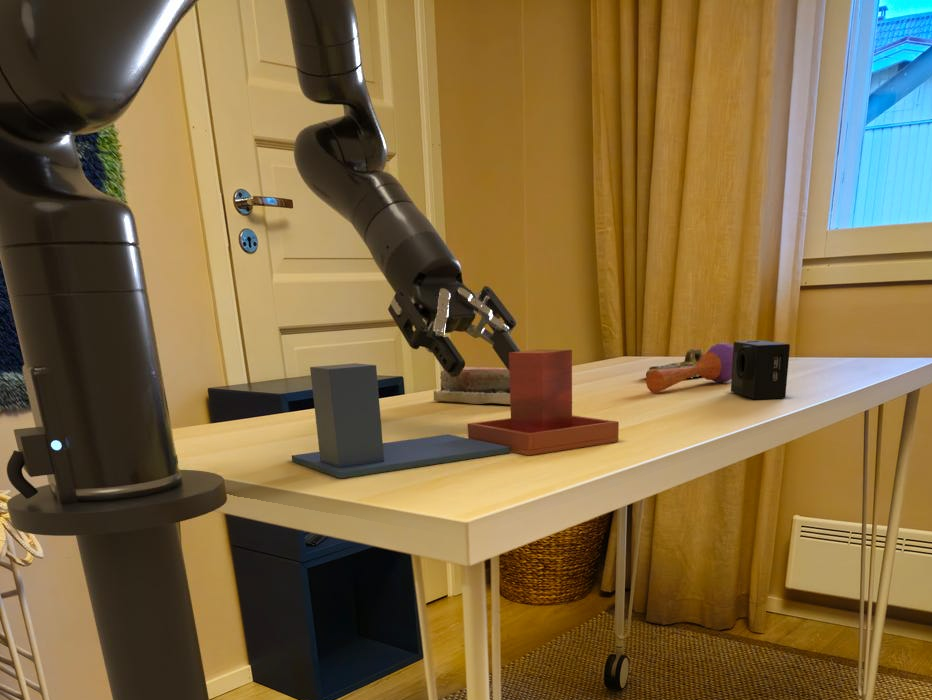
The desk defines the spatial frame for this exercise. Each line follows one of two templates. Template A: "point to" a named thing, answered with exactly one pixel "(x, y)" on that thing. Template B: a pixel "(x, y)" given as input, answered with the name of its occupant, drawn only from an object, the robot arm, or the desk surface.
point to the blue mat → (410, 455)
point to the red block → (540, 390)
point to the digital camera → (760, 369)
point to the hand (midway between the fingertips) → (489, 367)
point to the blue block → (347, 414)
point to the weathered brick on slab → (475, 386)
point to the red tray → (546, 435)
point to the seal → (690, 361)
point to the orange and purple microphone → (696, 369)
